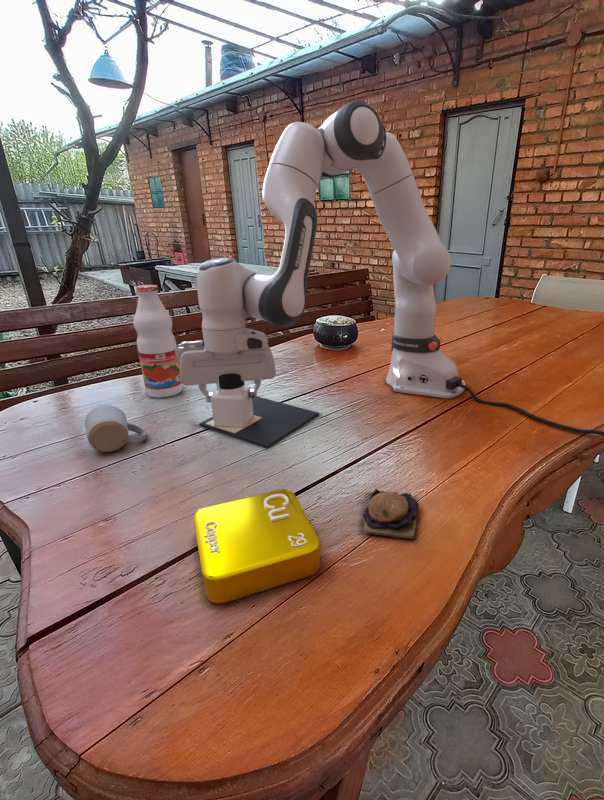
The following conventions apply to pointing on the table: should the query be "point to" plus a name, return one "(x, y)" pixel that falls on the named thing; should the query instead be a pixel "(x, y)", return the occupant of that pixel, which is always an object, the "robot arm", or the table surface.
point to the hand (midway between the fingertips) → (232, 399)
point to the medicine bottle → (231, 402)
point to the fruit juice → (156, 344)
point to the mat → (266, 422)
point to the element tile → (254, 545)
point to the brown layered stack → (391, 514)
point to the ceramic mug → (110, 429)
